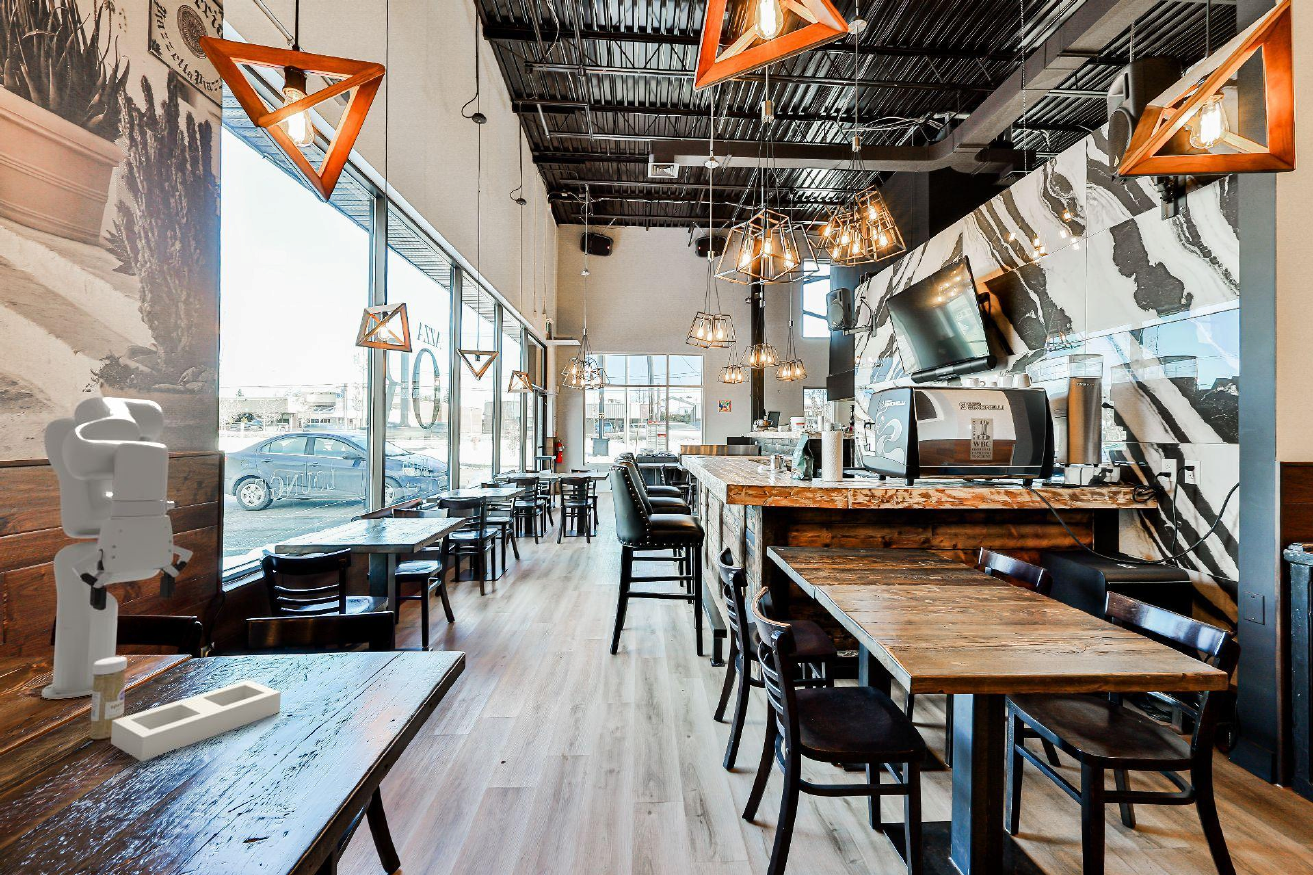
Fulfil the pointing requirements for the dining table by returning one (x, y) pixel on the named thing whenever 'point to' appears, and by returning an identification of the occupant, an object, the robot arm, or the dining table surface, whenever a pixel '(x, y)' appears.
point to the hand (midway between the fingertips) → (133, 603)
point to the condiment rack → (193, 719)
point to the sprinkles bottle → (107, 695)
